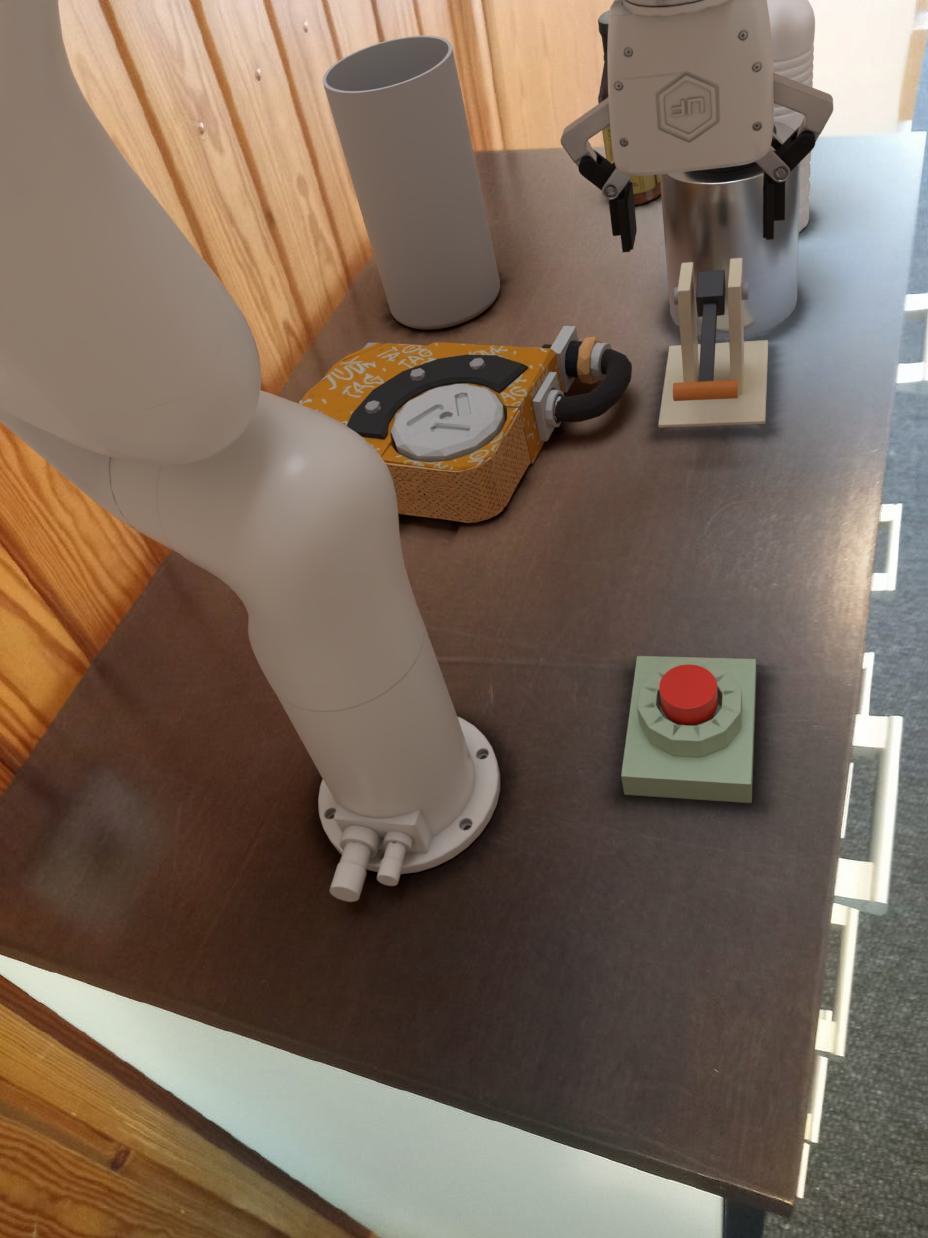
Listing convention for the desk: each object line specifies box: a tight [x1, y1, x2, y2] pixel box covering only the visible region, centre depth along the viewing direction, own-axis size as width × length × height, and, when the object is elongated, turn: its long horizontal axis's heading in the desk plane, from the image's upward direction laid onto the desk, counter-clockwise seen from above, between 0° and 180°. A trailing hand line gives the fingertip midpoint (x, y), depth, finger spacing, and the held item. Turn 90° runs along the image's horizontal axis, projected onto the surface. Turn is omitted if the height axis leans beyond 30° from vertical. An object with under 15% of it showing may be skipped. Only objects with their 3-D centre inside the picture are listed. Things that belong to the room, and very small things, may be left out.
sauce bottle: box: [597, 9, 661, 206], centre depth 114 cm, size 7×6×20 cm
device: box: [297, 325, 633, 524], centre depth 93 cm, size 23×8×30 cm
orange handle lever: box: [673, 270, 738, 401], centre depth 84 cm, size 12×5×2 cm, turn 168°
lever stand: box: [657, 258, 769, 429], centre depth 89 cm, size 12×9×12 cm
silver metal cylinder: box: [660, 121, 801, 340], centre depth 96 cm, size 14×12×17 cm
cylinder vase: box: [322, 35, 501, 331], centre depth 105 cm, size 12×12×25 cm
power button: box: [659, 664, 718, 725], centre depth 66 cm, size 4×4×2 cm
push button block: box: [620, 655, 757, 804], centre depth 68 cm, size 10×8×4 cm
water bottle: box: [767, 0, 816, 233], centre depth 101 cm, size 9×6×25 cm
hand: (698, 236), depth 73 cm, fingers open, 9 cm apart
